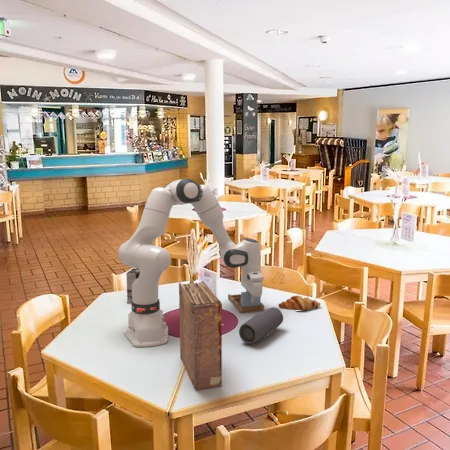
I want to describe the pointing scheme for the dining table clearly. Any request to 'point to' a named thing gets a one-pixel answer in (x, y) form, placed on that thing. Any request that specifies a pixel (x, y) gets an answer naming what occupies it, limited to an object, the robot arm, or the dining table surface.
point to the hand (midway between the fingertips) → (250, 300)
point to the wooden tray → (235, 301)
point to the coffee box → (131, 277)
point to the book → (201, 335)
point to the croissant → (299, 303)
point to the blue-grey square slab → (246, 300)
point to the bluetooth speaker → (260, 325)
